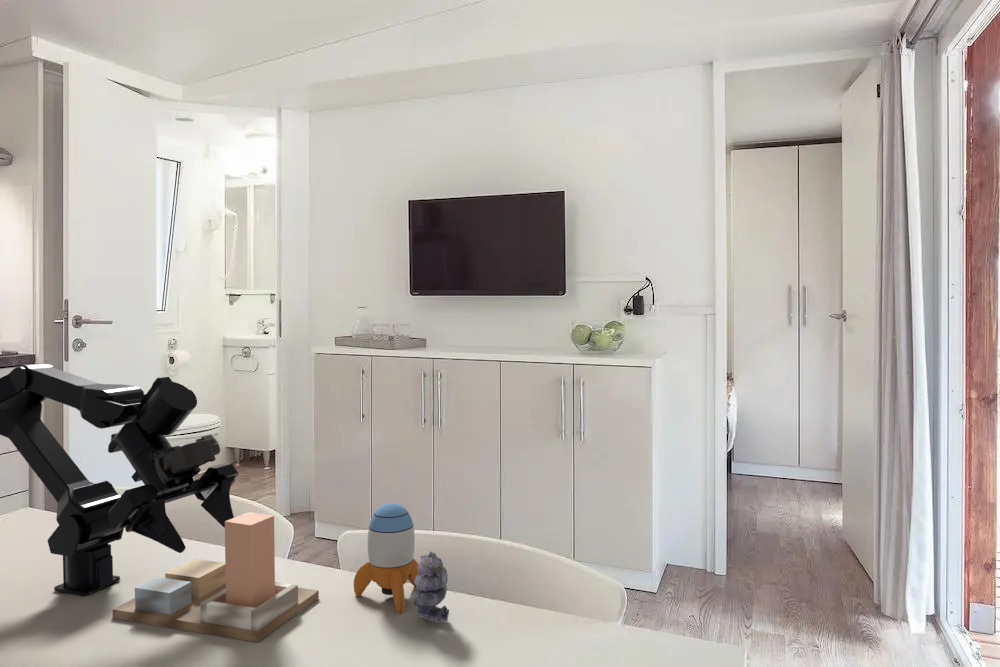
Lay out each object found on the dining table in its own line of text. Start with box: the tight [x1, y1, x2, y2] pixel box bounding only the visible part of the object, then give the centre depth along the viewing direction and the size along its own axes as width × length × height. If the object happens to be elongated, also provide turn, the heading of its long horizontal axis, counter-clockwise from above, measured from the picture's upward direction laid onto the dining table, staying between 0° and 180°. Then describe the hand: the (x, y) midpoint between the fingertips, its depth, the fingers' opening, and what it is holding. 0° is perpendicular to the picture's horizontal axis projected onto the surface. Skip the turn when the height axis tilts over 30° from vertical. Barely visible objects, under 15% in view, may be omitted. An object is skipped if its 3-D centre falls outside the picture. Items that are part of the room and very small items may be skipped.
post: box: [224, 511, 276, 608], centre depth 93 cm, size 4×4×13 cm
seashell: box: [411, 551, 450, 624], centre depth 92 cm, size 5×5×10 cm
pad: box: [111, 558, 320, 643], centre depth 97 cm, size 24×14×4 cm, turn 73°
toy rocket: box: [353, 502, 419, 614], centre depth 100 cm, size 10×11×15 cm
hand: (209, 540), depth 96 cm, fingers open, 9 cm apart
